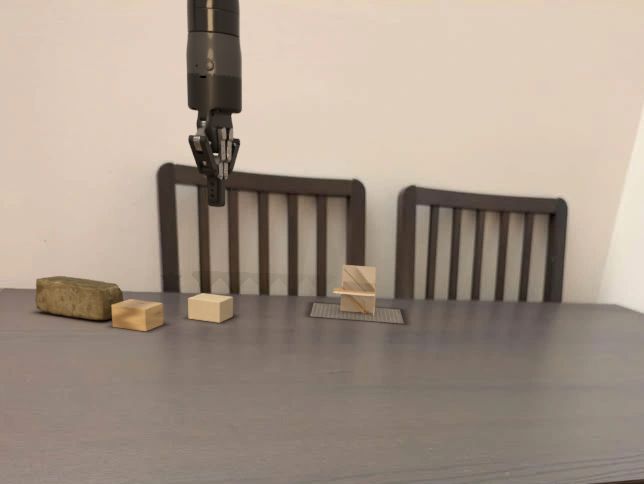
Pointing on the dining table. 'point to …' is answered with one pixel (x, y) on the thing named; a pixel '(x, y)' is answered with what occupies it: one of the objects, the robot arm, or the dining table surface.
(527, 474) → the dining table surface
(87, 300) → the stone block
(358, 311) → the architectural model
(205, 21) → the robot arm
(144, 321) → the birch block
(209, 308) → the cream block
